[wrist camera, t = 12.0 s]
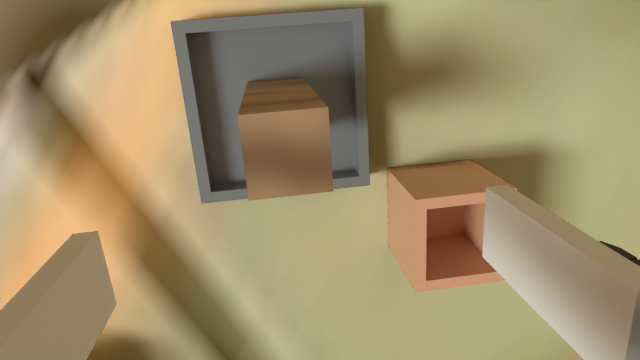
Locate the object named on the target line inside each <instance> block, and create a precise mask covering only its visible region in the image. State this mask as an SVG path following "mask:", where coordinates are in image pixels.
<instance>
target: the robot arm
mask: <svg viewBox="0 0 640 360" xmlns="http://www.w3.org/2000/svg"><path fill="white" fill-rule="evenodd" d="M482 257H483V258H484V259H485V260H486V261H487V262H488V263H489V264H490V265H491V266H492V267H493V268H494V269H495V270H496V271H497V272H498V273H499V274H500V275H501V276H502V277H503V278H504V279H505V280H506V281H507V282H508V283H509V284H510V285H511V286H512V287H513V288H514V289H515V290H516V292H517V293H518V294H519V295H520V296H521V297H522V298H523V299H524V300H525V301H526V302H527V303H528V304H529V305H530V306H531V307H532V308H533V309H534V310H535V311H536V312H537V313H538V314H539V315H540V316H541V317H542V318H543V319H544V320H545V321H546V322H547V323H548V324H549V325H550V326H551V327H552V328H553V329H554V330H555V331H556V332H557V333H558V334H559V335H560V336H561V337H562V338H563V339H564V340H565V341H566V342H567V343H568V344H569V345H570V346H571V347H572V348H573V349H574V350H575V351H576V352H577V353H578V354H579V355H580V356H581V357H582V358H583V359H584V360H640V260H637V258H636V257H635V256H633V255H631V254H630V253H628V252H626V251H625V250H623V249H621V248H619V247H616V246H613V245H610V244H608V243H605V242H602V241H597V240H596V239H594V238H593V237H591V236H589V235H588V234H586V233H584V232H583V231H581V230H580V229H578V228H576V227H575V226H573V225H571V224H570V223H568V222H566V221H565V220H563V219H562V218H560V217H558V216H557V215H555V214H553V213H552V212H550V211H549V210H547V209H545V208H544V207H542V206H540V205H539V204H537V203H535V202H534V201H532V200H531V199H529V198H527V197H526V196H524V195H522V194H521V193H519V192H518V191H516V190H514V189H513V188H511V187H509V186H508V185H501V186H492V187H486V196H485V214H484V233H483V252H482ZM115 306H116V300H115V296H114V292H113V288H112V284H111V281H110V277H109V273H108V269H107V265H106V261H105V257H104V253H103V249H102V245H101V241H100V238H99V234H98V231H94V232H85V233H77V234H72V236H71V237H70V238H69V239H68V240H67V241H66V242H65V243H64V244H63V245H62V246H61V247H60V248H59V249H58V250H57V251H56V252H55V254H54V255H53V256H52V257H51V258H50V259H49V260H48V261H47V262H46V263H45V264H44V265H43V266H42V267H41V268H40V269H39V270H38V272H37V273H36V274H35V275H34V276H33V277H32V278H31V279H30V280H29V281H28V282H27V283H26V284H25V285H24V286H23V287H22V288H21V290H20V291H19V292H18V293H17V294H16V295H15V296H14V297H13V298H12V299H11V300H10V301H9V302H8V303H7V304H6V305H5V306H4V307H3V309H2V310H1V311H0V360H87V358H88V356H89V354H90V353H91V351H92V349H93V347H94V345H95V343H96V341H97V339H98V338H99V336H100V334H101V332H102V330H103V328H104V326H105V325H106V323H107V321H108V319H109V317H110V315H111V313H112V312H113V310H114V308H115Z"/></svg>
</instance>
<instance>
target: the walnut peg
mask: <svg viewBox="0 0 640 360" xmlns="http://www.w3.org/2000/svg"><path fill="white" fill-rule="evenodd" d="M238 123H239V130H240V138H241V146H242V153H243V161H244V168H245V176H246V184H247V191H248V199H249V200H257V199H266V198H275V197H284V196H294V195H303V194H312V193H321V192H330V191H333V175H332V159H331V143H330V128H329V112H328V106H327V105H326V104H325V103H324V102H323V100H322V99H321V98H320V97H319V96H318V95H317V94H316V92H315V91H314V90H313V89H312V88H311V87H310V85H309V84H308V83H307V82H306V81H305V80H304V78H303V77H297V78H285V79H273V80H261V81H249V82H247V85H246V88H245V92H244V95H243V98H242V102H241V105H240V109H239V112H238Z"/></svg>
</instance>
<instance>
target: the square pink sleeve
mask: <svg viewBox="0 0 640 360" xmlns="http://www.w3.org/2000/svg"><path fill="white" fill-rule="evenodd" d="M501 185H508V186H509V187H511V188H513V189H514V190H516V191H517V188H516V187H514V186H512V185H511V184H509V183H508V182H506V181H504V180H503V179H501V178H499V177H498V176H496V175H495V174H493V173H491V172H490V171H488V170H487V169H485V168H483V167H482V166H480V165H478V164H477V163H475V162H474V161H472V160H462V161H453V162H443V163H434V164H424V165H415V166H405V167H396V168H387V198H388V245H389V248H390V250H391V252H392V253H393V255H394V257H395V258H396V260H397V262H398V264H399V265H400V267H401V269H402V270H403V272H404V274H405V275H406V277H407V279H408V281H409V282H410V284H411V286H412V287H413V289H414V291H415V292H420V291H427V290H435V289H442V288H450V287H457V286H465V285H472V284H480V283H487V282H495V281H502V280H505V279H504V278H503V277H502V276H501V275H500V274H499V273H498V272H497V271H496V270H495V269H494V268H493V267H492V266H491V265H490V264H489V263H488V262H487V261H486V260H485V259H484V258H483V257H482V252H483V233H484V214H485V196H486V187H492V186H501Z"/></svg>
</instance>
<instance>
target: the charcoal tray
mask: <svg viewBox="0 0 640 360" xmlns="http://www.w3.org/2000/svg"><path fill="white" fill-rule="evenodd" d="M171 26H172V32H173V38H174V44H175V50H176V56H177V62H178V67H179V73H180V79H181V85H182V91H183V97H184V103H185V109H186V114H187V120H188V126H189V132H190V138H191V144H192V150H193V156H194V162H195V167H196V173H197V179H198V185H199V191H200V197H201V203H211V202H220V201H229V200H238V199H247V198H248V191H247V184H246V176H245V168H244V161H243V153H242V146H241V138H240V130H239V123H238V112H239V109H240V105H241V102H242V98H243V95H244V92H245V88H246V85H247V82H249V81H261V80H273V79H285V78H297V77H303V78H304V80H305V81H306V82H307V83H308V84H309V85H310V87H311V88H312V89H313V90H314V91H315V92H316V94H317V95H318V96H319V97H320V98H321V99H322V100H323V102H324V103H325V104H326V105H327V106H328V112H329V128H330V143H331V159H332V175H333V189H339V188H349V187H358V186H367V185H370V172H369V143H368V114H367V85H366V56H365V27H364V8H353V9H338V10H324V11H310V12H296V13H281V14H267V15H253V16H239V17H225V18H210V19H196V20H182V21H171Z"/></svg>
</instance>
